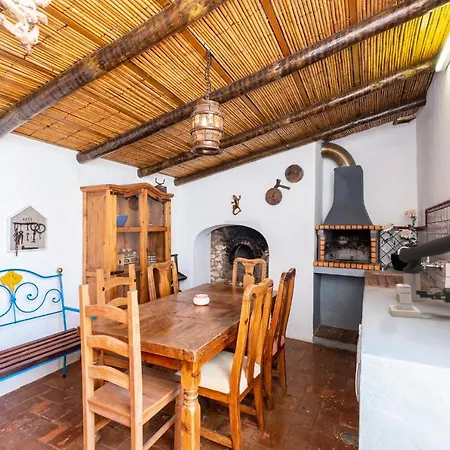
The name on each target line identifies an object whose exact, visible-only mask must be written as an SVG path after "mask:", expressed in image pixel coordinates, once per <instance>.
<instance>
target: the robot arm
mask: <svg viewBox="0 0 450 450" xmlns="http://www.w3.org/2000/svg"><path fill="white" fill-rule="evenodd" d="M448 253H450V234H448V235H446V236H442V237H439V238H435V239H432V240H429V241H426V242H424V243H421V244H419V245H416V246H413V247H407V248H403V249H401V250H400V251H399V253H398V258H399V260H401V262H403V263H407V265H406V266H405V267H403V268H402V277H403V284H407V285H409V286H411V298H412V302H420V301H422V299H429V300H434V301H435V300H436V301H437V300H438V301H443V302H444V303H445V304H450V287H443V288H442V291H440V290H437V289H425V290H421V270H422V258H428V257H429V258H430V257H436V256H441V255H444V254H448Z"/></svg>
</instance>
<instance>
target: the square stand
mask: <svg viewBox="0 0 450 450" xmlns="http://www.w3.org/2000/svg"><path fill="white" fill-rule="evenodd" d="M388 311H389V313H390V315H391V317H395V316H396V317H397V318H398V317H399V318H409V317H410V319H411V318H412V319H422V317H423V316H422V311H421V310H419V309H418V307H417V306H413V305H412V311H406V310H397V304H395V305H394V304H388Z"/></svg>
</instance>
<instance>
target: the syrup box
mask: <svg viewBox="0 0 450 450" xmlns="http://www.w3.org/2000/svg"><path fill="white" fill-rule="evenodd" d="M395 285H396V286H395V289H396V290H395V291H396V294H395V295H396V305H397V310H406V311H412V306H413V301H412V298H411V286H409V285H407V284H404V283H398V284H397V283H396V284H395Z"/></svg>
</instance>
